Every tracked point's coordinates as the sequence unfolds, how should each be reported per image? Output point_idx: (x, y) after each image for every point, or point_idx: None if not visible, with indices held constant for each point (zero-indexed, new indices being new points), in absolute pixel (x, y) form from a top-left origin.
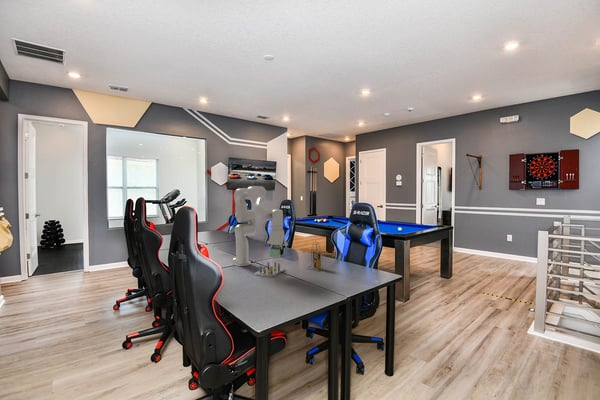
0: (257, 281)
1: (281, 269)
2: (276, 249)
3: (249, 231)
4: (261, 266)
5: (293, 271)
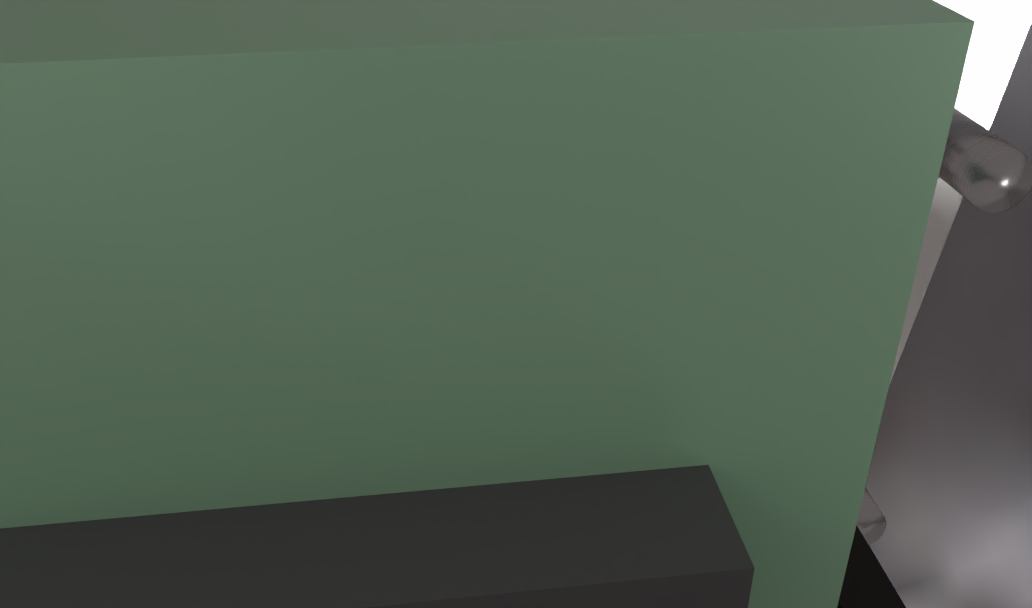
0: None
1: None
2: (80, 379)
3: None
4: (962, 165)
5: None
